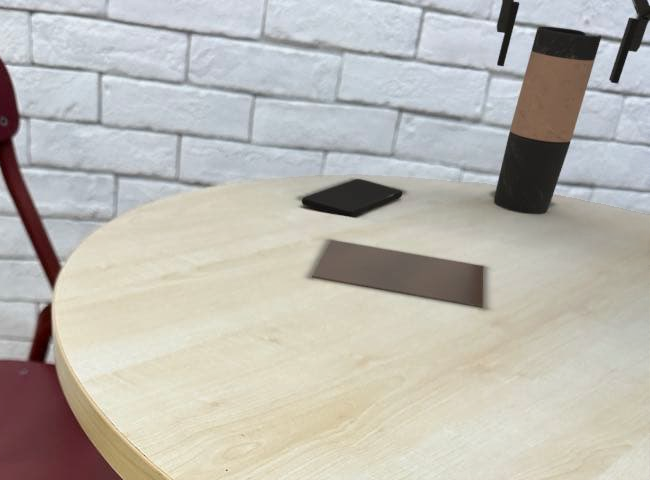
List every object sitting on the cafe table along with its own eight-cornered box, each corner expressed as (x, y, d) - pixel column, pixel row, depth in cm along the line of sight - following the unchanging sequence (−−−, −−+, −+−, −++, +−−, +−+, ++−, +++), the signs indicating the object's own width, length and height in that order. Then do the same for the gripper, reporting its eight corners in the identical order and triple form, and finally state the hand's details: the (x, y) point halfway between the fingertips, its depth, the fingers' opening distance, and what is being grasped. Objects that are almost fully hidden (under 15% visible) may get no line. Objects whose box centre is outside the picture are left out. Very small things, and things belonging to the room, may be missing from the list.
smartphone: (404, 191, 109) (350, 212, 98) (403, 197, 109) (349, 219, 99) (357, 178, 111) (300, 197, 101) (356, 184, 112) (298, 204, 101)
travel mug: (487, 206, 110) (533, 28, 98) (495, 194, 116) (540, 24, 104) (546, 218, 108) (601, 38, 96) (552, 205, 114) (603, 33, 102)
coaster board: (481, 275, 87) (483, 265, 87) (480, 316, 78) (483, 306, 77) (329, 249, 89) (330, 239, 89) (310, 286, 80) (311, 275, 79)
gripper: (503, -168, 89) (453, 61, 102) (751, -139, 86) (666, 93, 99) (502, -162, 95) (455, 54, 108) (734, -135, 92) (656, 84, 104)
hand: (556, 73), depth 103 cm, fingers open, 13 cm apart
